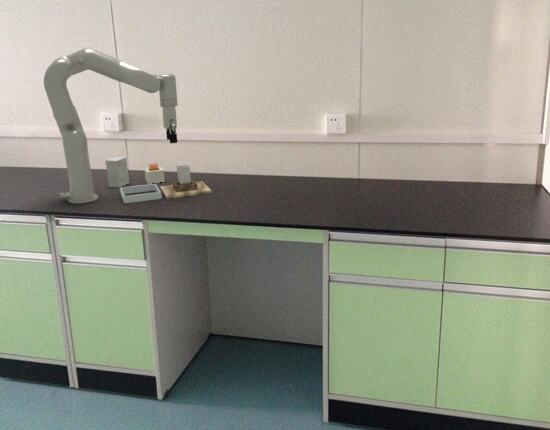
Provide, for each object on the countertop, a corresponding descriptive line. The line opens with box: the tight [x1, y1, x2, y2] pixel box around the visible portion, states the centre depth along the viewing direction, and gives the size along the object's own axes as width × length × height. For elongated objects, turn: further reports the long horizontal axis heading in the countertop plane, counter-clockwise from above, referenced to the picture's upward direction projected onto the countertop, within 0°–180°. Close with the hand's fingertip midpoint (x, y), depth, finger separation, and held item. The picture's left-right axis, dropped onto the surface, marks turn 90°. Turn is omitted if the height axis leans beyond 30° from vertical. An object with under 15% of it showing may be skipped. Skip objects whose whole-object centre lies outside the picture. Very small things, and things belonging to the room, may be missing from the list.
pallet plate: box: [159, 178, 212, 200], centre depth 250 cm, size 20×18×4 cm
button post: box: [144, 166, 165, 185], centre depth 267 cm, size 8×8×6 cm
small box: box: [104, 156, 130, 189], centre depth 262 cm, size 8×6×13 cm
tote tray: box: [119, 183, 163, 204], centre depth 243 cm, size 16×16×3 cm
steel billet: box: [176, 164, 192, 185], centre depth 248 cm, size 5×5×10 cm
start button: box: [148, 162, 159, 171], centre depth 266 cm, size 4×4×3 cm
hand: (172, 141), depth 248 cm, fingers open, 9 cm apart
